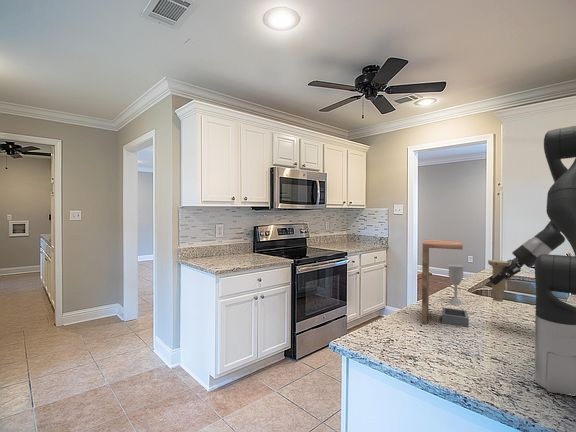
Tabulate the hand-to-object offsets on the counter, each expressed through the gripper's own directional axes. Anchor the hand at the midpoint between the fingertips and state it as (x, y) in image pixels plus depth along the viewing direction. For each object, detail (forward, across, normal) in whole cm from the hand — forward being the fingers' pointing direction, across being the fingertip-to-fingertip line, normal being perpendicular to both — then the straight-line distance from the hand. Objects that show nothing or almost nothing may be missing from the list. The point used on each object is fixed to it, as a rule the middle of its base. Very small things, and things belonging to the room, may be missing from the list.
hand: (491, 281), depth 118 cm
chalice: (+20, -27, +4) cm, 34 cm away
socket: (+21, 0, +3) cm, 21 cm away
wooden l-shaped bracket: (+24, 0, 0) cm, 24 cm away
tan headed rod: (+4, 0, +6) cm, 7 cm away
